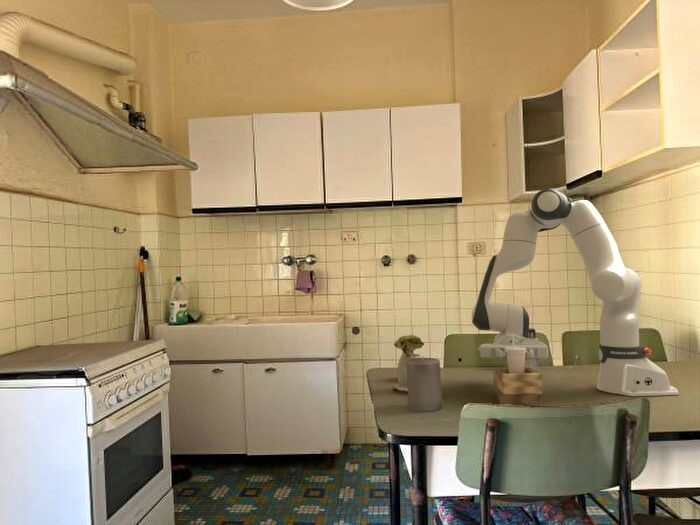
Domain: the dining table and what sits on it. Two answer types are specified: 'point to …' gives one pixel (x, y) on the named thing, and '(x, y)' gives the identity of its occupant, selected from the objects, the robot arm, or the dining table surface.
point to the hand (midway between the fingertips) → (516, 354)
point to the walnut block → (519, 399)
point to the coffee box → (531, 362)
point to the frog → (405, 357)
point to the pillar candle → (424, 384)
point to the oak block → (518, 381)
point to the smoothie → (515, 358)
